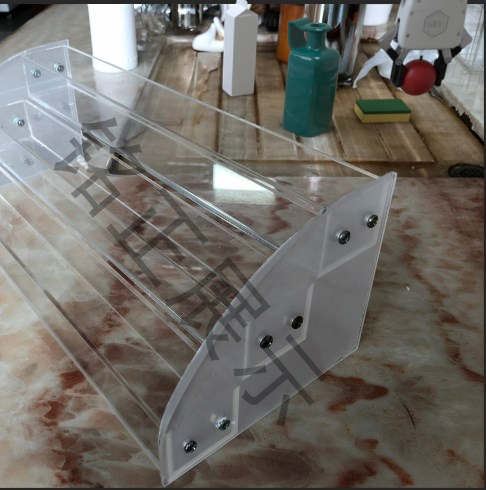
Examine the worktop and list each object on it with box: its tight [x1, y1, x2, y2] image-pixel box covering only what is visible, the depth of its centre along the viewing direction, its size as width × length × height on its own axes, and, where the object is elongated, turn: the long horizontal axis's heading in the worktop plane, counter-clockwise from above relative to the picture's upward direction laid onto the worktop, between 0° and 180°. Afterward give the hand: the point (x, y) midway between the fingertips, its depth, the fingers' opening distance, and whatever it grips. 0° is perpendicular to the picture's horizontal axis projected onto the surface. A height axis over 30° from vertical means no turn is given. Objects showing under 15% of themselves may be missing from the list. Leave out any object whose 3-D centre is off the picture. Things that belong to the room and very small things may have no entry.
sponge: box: [354, 98, 412, 124], centre depth 131 cm, size 10×7×3 cm
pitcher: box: [281, 16, 341, 138], centre depth 122 cm, size 10×8×22 cm
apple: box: [399, 54, 437, 97], centre depth 104 cm, size 6×6×7 cm
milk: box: [221, 0, 259, 97], centre depth 142 cm, size 6×6×22 cm
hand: (415, 83), depth 104 cm, fingers closed on apple, 6 cm apart
